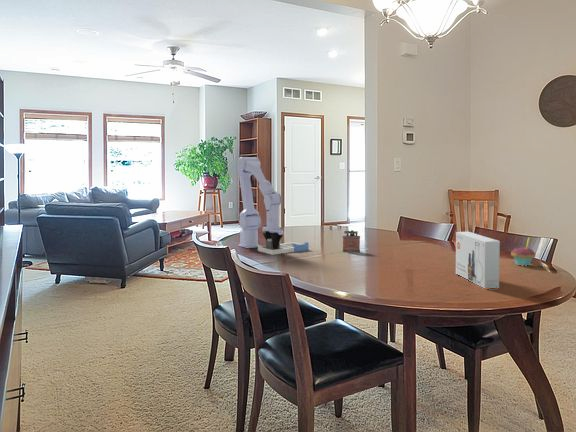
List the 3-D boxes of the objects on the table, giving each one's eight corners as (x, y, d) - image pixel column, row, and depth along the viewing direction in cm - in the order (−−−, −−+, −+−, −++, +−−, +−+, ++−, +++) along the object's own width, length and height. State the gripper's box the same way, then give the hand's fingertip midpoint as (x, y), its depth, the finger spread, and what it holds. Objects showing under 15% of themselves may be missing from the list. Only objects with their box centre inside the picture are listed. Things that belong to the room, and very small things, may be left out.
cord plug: (265, 251, 210) (265, 239, 209) (274, 250, 213) (274, 238, 212) (270, 253, 206) (270, 240, 206) (279, 251, 209) (279, 239, 209)
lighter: (359, 251, 210) (360, 230, 209) (360, 252, 207) (360, 231, 206) (342, 251, 211) (342, 229, 210) (342, 252, 208) (342, 230, 207)
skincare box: (453, 274, 164) (455, 231, 163) (468, 274, 165) (469, 231, 163) (483, 290, 144) (485, 240, 142) (499, 289, 144) (502, 240, 142)
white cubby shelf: (257, 250, 212) (257, 243, 211) (293, 246, 224) (293, 239, 224) (273, 255, 202) (273, 247, 201) (309, 249, 214) (309, 242, 214)
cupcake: (532, 263, 182) (534, 234, 181) (536, 268, 174) (538, 237, 173) (509, 262, 185) (510, 233, 184) (512, 266, 177) (513, 236, 176)
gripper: (256, 218, 211) (257, 247, 213) (274, 221, 200) (274, 251, 201) (269, 217, 215) (269, 245, 217) (287, 220, 204) (287, 249, 205)
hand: (272, 248), depth 209 cm, fingers closed on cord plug, 4 cm apart
